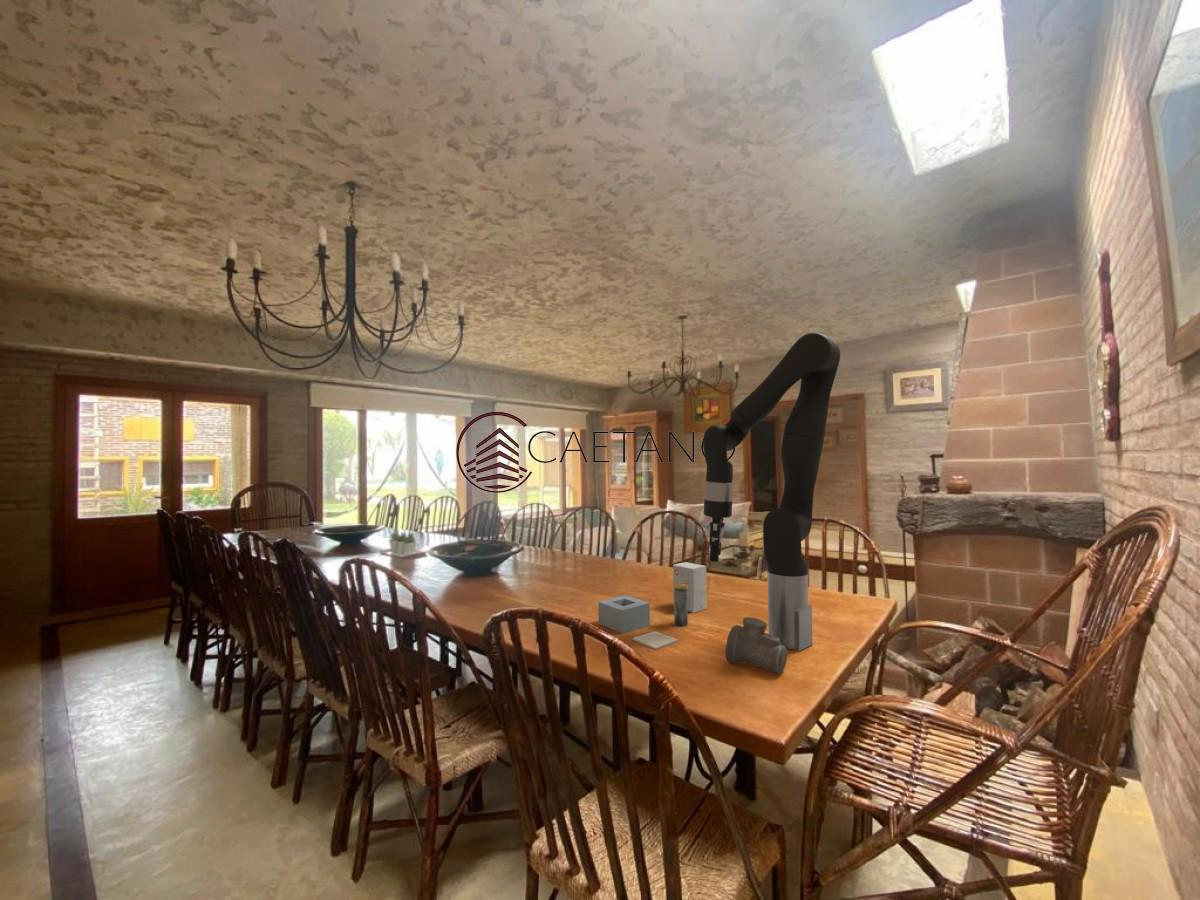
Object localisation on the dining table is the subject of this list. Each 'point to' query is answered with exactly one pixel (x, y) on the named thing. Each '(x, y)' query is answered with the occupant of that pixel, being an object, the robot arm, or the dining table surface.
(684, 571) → the small box
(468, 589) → the dining table surface
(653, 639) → the coaster
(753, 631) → the pipe fitting
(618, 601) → the block
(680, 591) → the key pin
